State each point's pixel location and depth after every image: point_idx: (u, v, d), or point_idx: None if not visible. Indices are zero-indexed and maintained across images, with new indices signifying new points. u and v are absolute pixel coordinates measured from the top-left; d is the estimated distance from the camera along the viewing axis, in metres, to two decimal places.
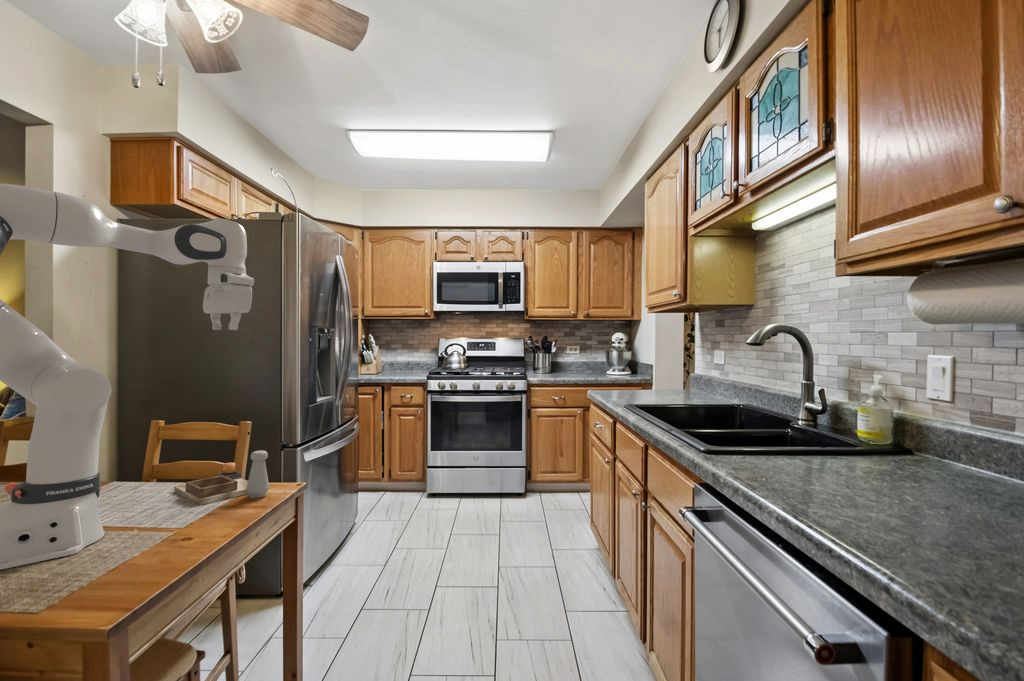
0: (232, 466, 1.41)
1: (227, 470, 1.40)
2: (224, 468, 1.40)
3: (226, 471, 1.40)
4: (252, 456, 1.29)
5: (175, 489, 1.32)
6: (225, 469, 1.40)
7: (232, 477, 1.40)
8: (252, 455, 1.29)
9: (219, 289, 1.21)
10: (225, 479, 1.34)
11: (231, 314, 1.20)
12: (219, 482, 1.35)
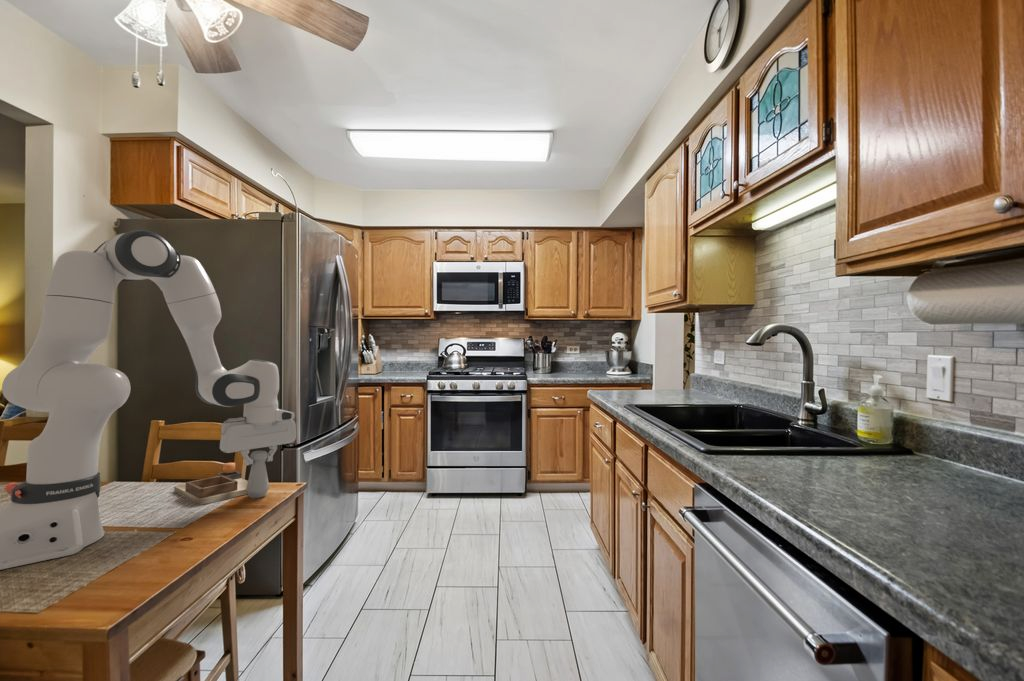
0: (232, 466, 1.41)
1: (227, 470, 1.40)
2: (224, 468, 1.40)
3: (226, 471, 1.40)
4: (252, 456, 1.29)
5: (175, 489, 1.32)
6: (225, 469, 1.40)
7: (232, 477, 1.40)
8: (252, 455, 1.29)
9: (271, 426, 1.31)
10: (225, 479, 1.34)
11: (274, 447, 1.34)
12: (219, 482, 1.35)
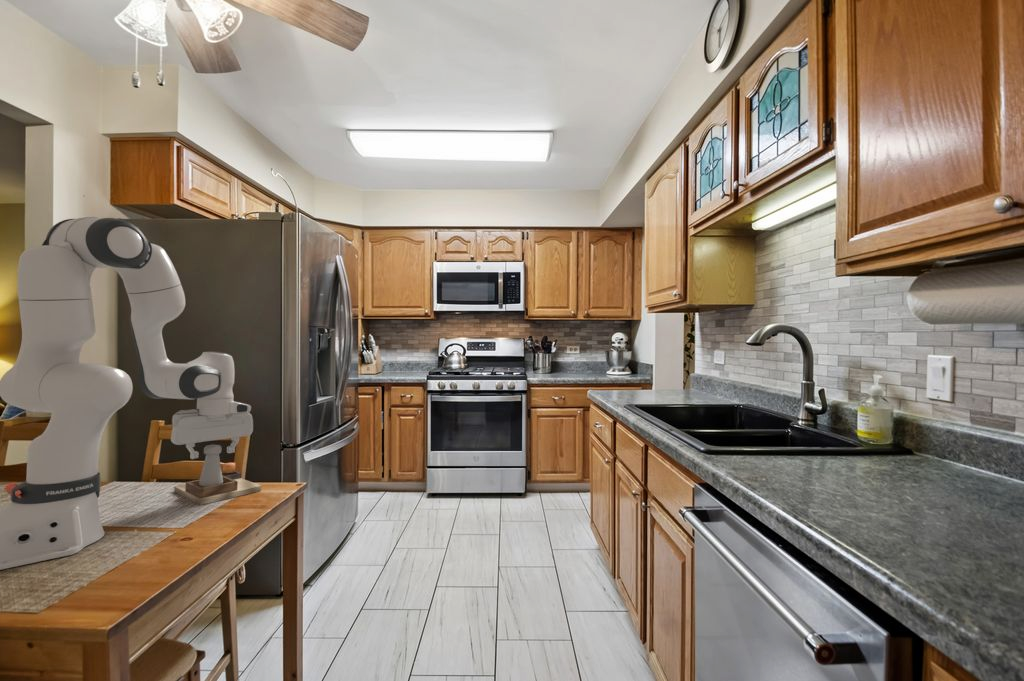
0: (232, 466, 1.41)
1: (227, 470, 1.40)
2: (224, 468, 1.40)
3: (226, 471, 1.40)
4: (205, 450, 1.28)
5: (175, 489, 1.32)
6: (225, 469, 1.40)
7: (232, 477, 1.40)
8: (205, 449, 1.28)
9: (225, 418, 1.30)
10: (225, 479, 1.34)
11: (236, 438, 1.34)
12: None
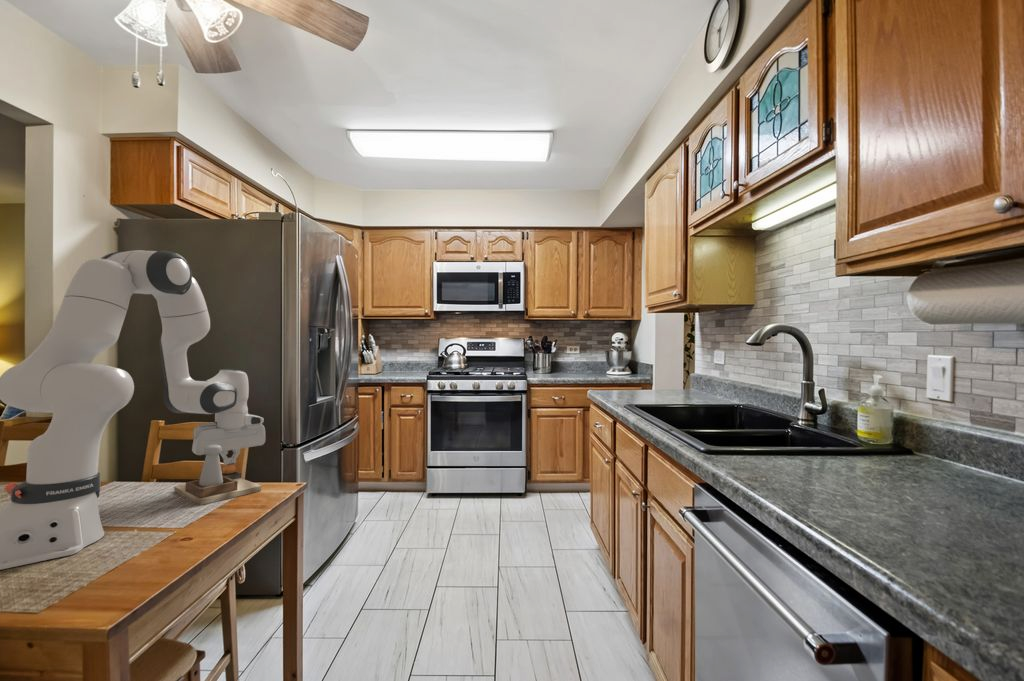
0: (232, 466, 1.41)
1: (227, 470, 1.40)
2: (224, 468, 1.40)
3: (226, 471, 1.40)
4: (205, 450, 1.28)
5: (175, 489, 1.32)
6: (225, 470, 1.40)
7: (232, 477, 1.40)
8: (205, 449, 1.28)
9: (240, 430, 1.42)
10: (225, 479, 1.34)
11: (237, 450, 1.43)
12: None
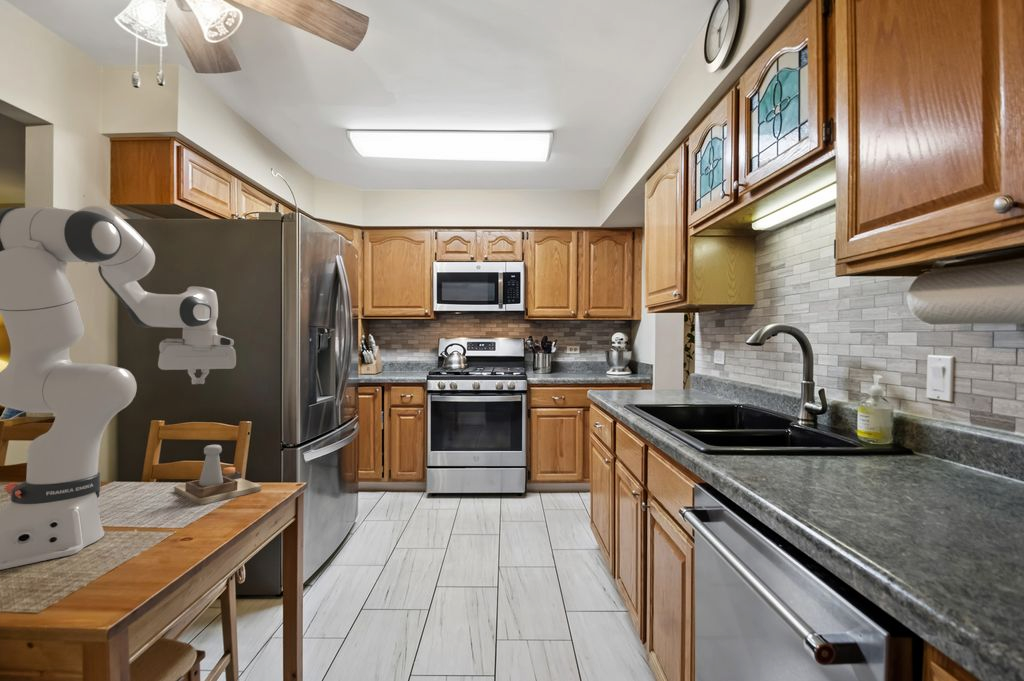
0: (232, 471, 1.41)
1: (227, 474, 1.40)
2: (224, 473, 1.40)
3: None
4: (205, 450, 1.28)
5: (175, 489, 1.32)
6: (225, 474, 1.40)
7: (232, 477, 1.40)
8: (205, 449, 1.28)
9: (209, 349, 1.40)
10: (225, 479, 1.34)
11: (206, 370, 1.41)
12: None
